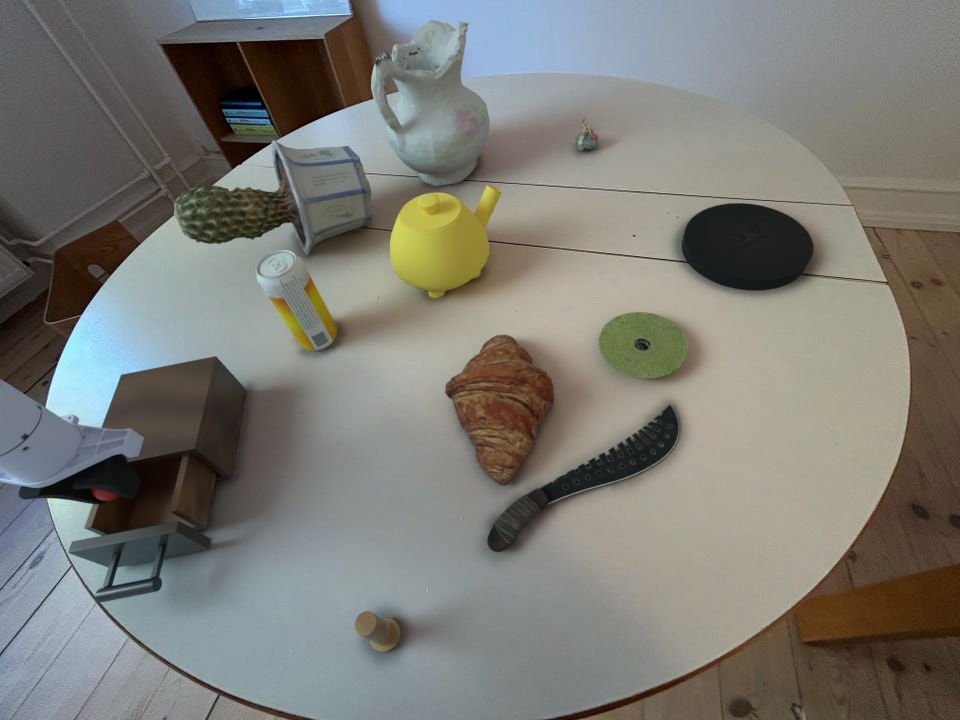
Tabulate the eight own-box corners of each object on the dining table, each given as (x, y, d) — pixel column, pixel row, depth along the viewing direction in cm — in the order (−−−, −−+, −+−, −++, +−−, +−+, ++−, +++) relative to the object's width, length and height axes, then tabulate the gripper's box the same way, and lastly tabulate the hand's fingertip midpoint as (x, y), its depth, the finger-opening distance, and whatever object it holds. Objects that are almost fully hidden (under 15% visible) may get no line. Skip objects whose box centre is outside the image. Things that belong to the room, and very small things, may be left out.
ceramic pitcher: (458, 217, 90) (444, 75, 70) (370, 192, 96) (333, 54, 75) (505, 155, 101) (505, 16, 81) (423, 136, 107) (404, 2, 86)
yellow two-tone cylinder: (327, 316, 77) (286, 241, 65) (346, 337, 74) (307, 262, 62) (293, 337, 75) (245, 264, 63) (311, 360, 72) (263, 287, 60)
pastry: (593, 414, 61) (598, 377, 54) (500, 493, 56) (494, 463, 50) (505, 340, 70) (501, 301, 63) (419, 402, 65) (404, 367, 59)
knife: (697, 437, 58) (666, 406, 61) (702, 430, 57) (670, 399, 59) (502, 570, 51) (476, 528, 54) (501, 567, 50) (475, 524, 52)
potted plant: (338, 117, 86) (145, 138, 73) (380, 163, 77) (166, 198, 64) (346, 206, 99) (183, 238, 86) (383, 255, 90) (206, 299, 77)
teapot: (481, 218, 87) (471, 145, 76) (532, 263, 79) (529, 188, 68) (382, 267, 82) (356, 196, 71) (425, 321, 74) (404, 250, 63)
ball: (113, 510, 50) (91, 499, 48) (99, 495, 51) (77, 484, 49) (139, 486, 51) (119, 475, 49) (125, 472, 52) (104, 460, 50)
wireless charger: (680, 283, 72) (683, 273, 71) (682, 210, 82) (685, 200, 81) (815, 296, 68) (821, 286, 66) (800, 217, 78) (805, 206, 76)
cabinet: (232, 477, 61) (194, 448, 55) (133, 497, 61) (85, 470, 55) (247, 390, 70) (216, 355, 63) (160, 407, 70) (120, 374, 63)
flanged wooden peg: (387, 659, 47) (366, 650, 42) (365, 639, 49) (342, 628, 43) (406, 630, 49) (388, 618, 43) (384, 611, 50) (364, 597, 44)
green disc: (586, 331, 69) (586, 322, 67) (661, 312, 69) (664, 303, 68) (616, 395, 62) (618, 387, 60) (700, 374, 62) (704, 365, 61)
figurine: (584, 139, 99) (586, 109, 94) (603, 145, 97) (606, 115, 92) (569, 151, 97) (570, 122, 92) (588, 158, 95) (590, 127, 90)
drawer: (202, 593, 52) (165, 579, 47) (97, 614, 52) (49, 602, 47) (228, 451, 63) (200, 427, 58) (141, 468, 63) (105, 445, 58)
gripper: (106, 374, 43) (195, 444, 54) (-55, 405, 43) (66, 470, 54) (78, 444, 39) (181, 506, 49) (-101, 479, 39) (41, 533, 49)
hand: (120, 491), depth 51 cm, fingers closed on ball, 3 cm apart
